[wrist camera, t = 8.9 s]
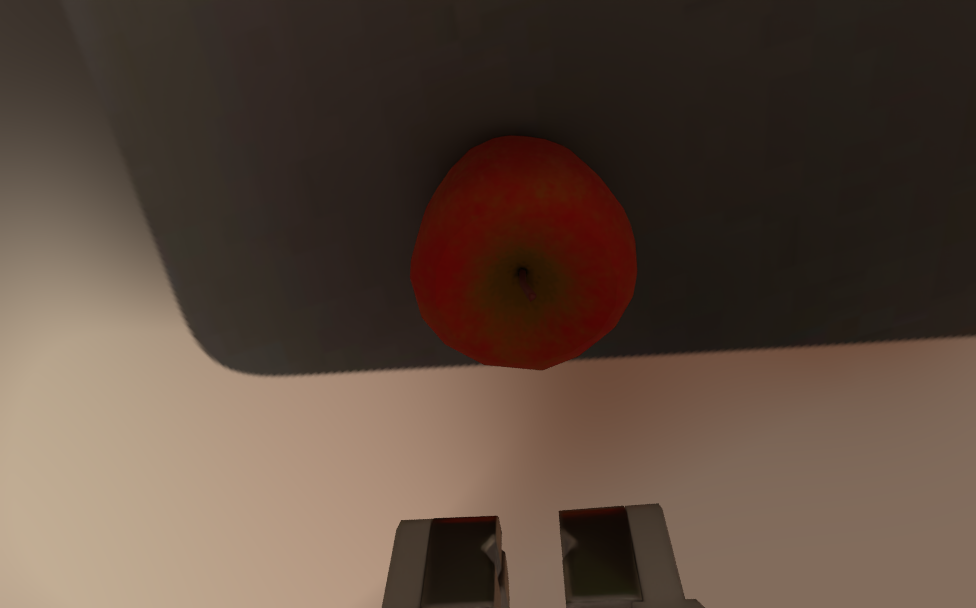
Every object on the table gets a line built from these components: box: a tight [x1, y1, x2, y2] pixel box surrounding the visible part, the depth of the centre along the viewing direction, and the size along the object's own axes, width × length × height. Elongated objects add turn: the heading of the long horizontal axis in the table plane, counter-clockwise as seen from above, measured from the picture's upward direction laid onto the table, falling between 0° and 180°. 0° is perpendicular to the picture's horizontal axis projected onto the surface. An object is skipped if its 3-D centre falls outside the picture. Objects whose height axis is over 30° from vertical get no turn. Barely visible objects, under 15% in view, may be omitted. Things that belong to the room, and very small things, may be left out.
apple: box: [410, 135, 637, 370], centre depth 20 cm, size 6×6×8 cm
